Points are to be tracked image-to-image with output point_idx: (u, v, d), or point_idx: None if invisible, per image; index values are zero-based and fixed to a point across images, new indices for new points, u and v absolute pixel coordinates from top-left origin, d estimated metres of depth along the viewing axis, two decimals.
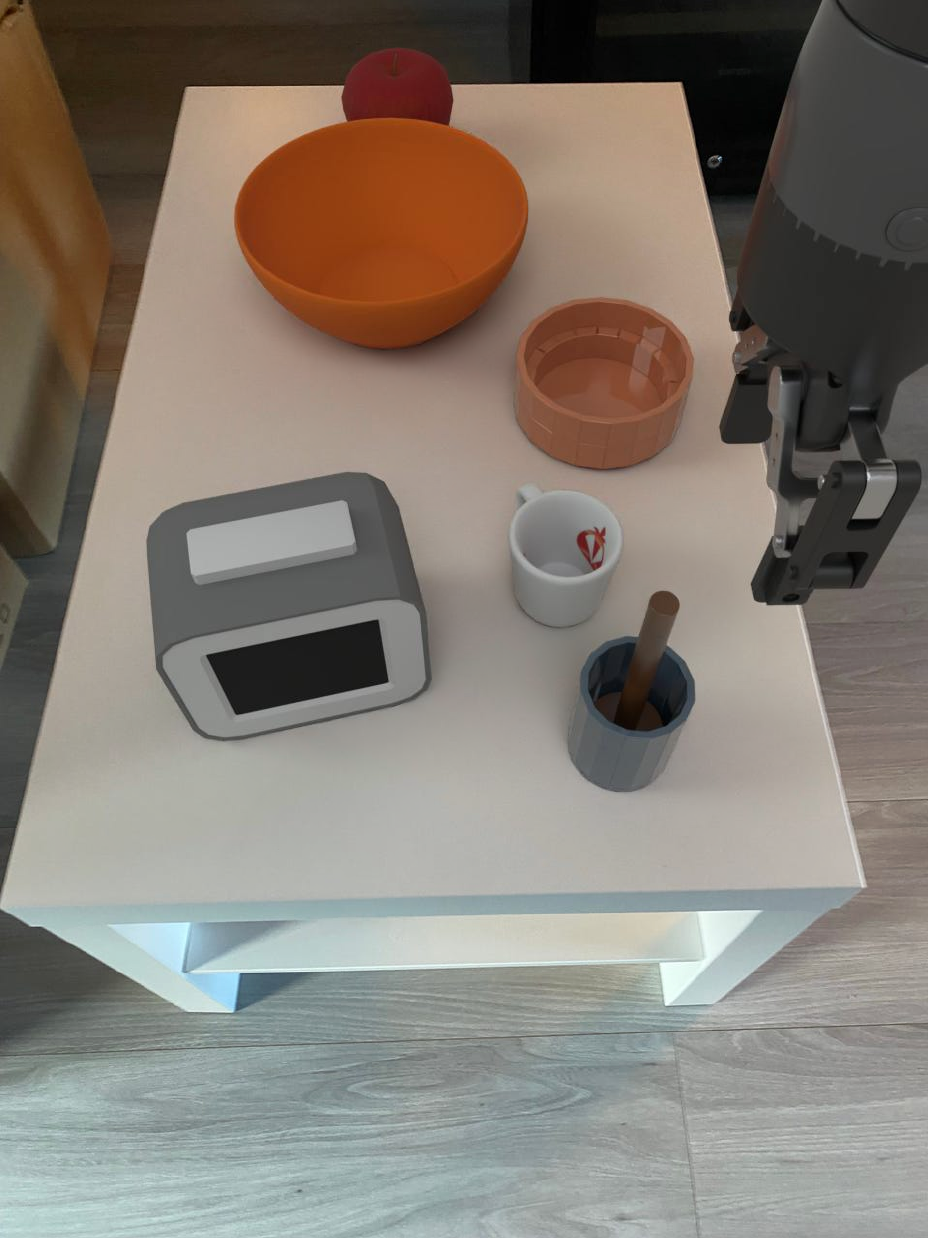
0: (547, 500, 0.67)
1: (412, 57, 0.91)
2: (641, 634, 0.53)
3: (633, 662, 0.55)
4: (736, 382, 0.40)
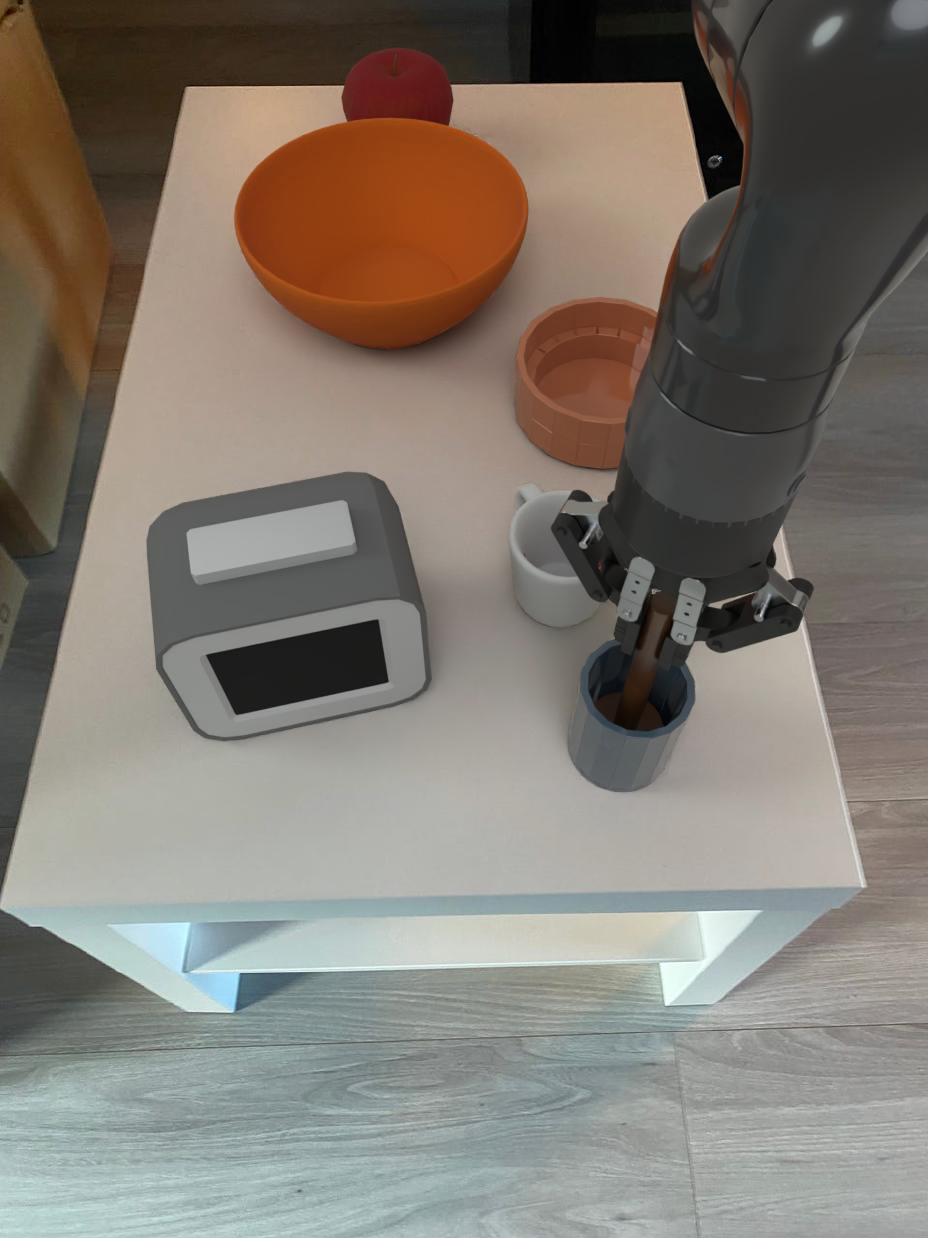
0: (547, 500, 0.67)
1: (412, 57, 0.91)
2: (642, 634, 0.52)
3: (633, 662, 0.55)
4: (634, 625, 0.51)
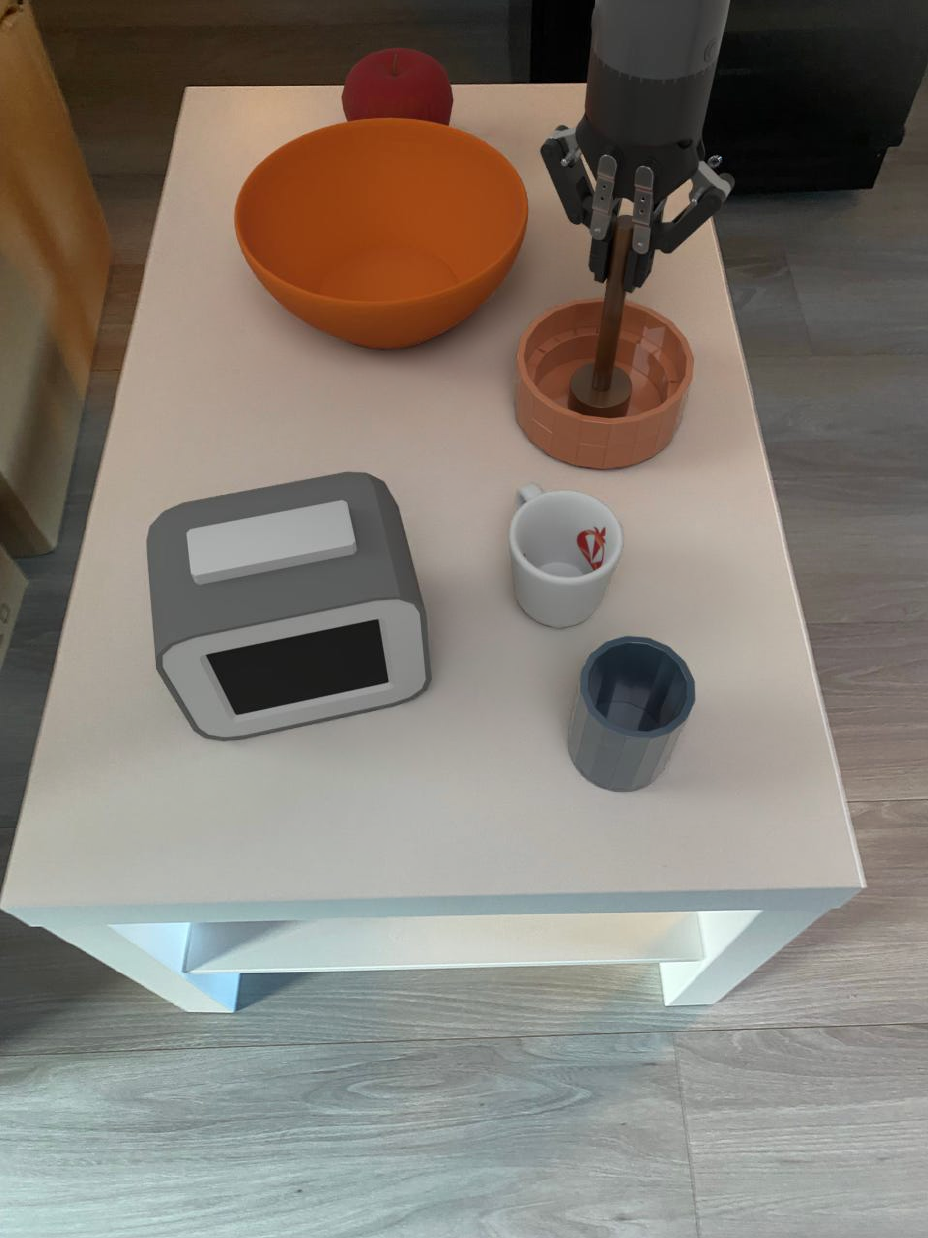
0: (547, 500, 0.67)
1: (412, 57, 0.91)
2: (610, 259, 0.69)
3: (605, 295, 0.71)
4: (603, 244, 0.67)
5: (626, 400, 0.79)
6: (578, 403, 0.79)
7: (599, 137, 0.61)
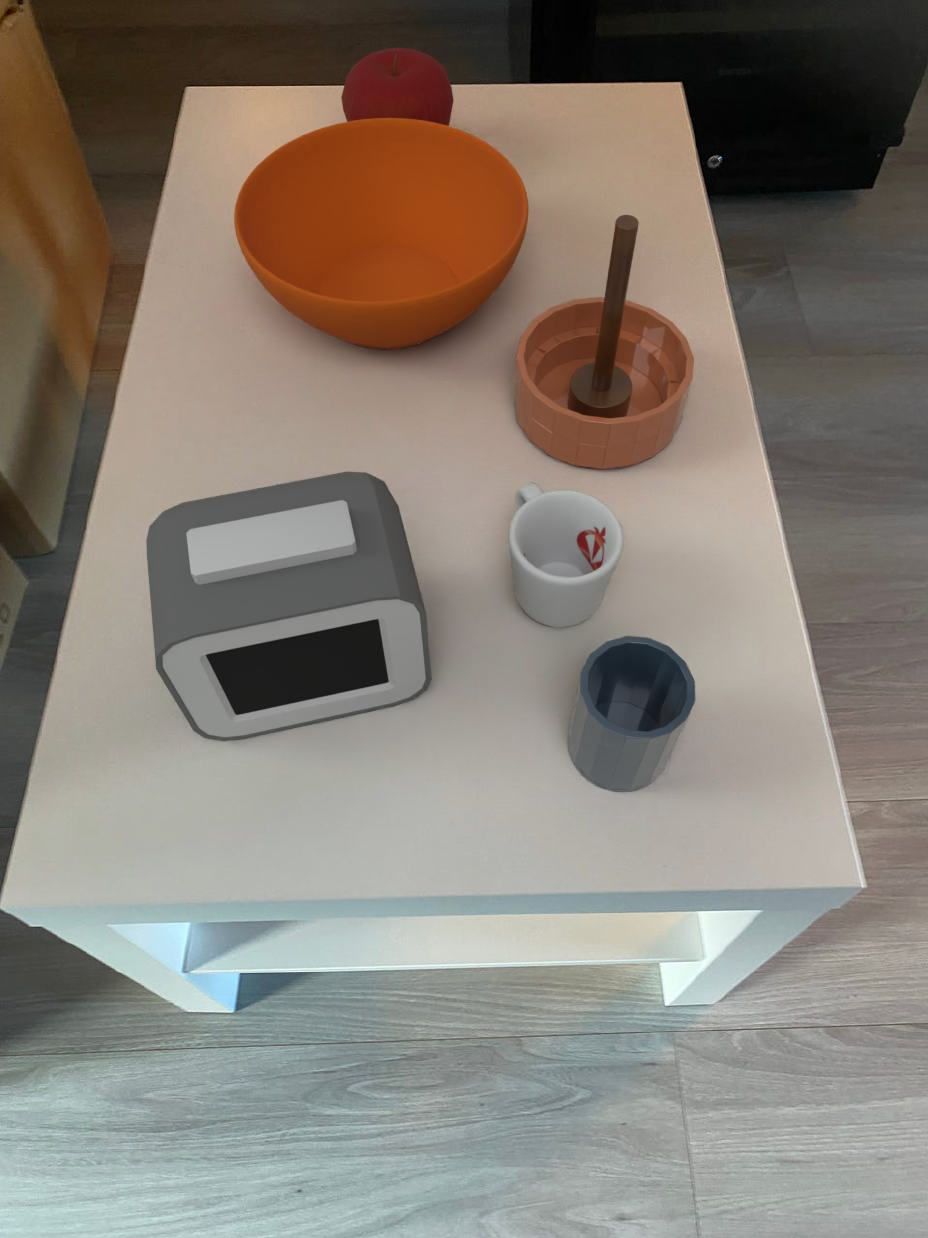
0: (547, 500, 0.67)
1: (412, 57, 0.91)
2: (610, 259, 0.69)
3: (605, 295, 0.71)
4: None
5: (626, 400, 0.79)
6: (578, 403, 0.79)
7: None
